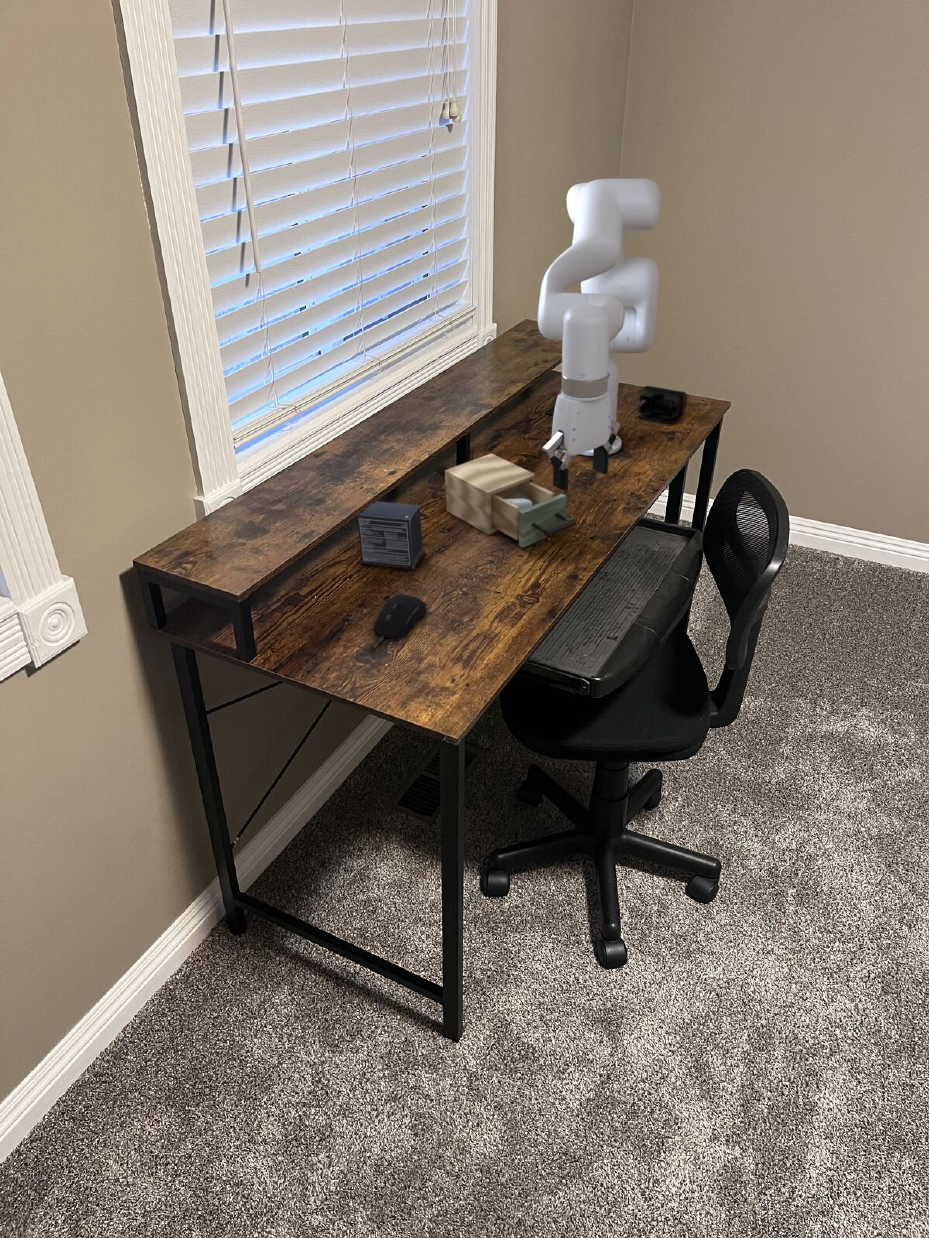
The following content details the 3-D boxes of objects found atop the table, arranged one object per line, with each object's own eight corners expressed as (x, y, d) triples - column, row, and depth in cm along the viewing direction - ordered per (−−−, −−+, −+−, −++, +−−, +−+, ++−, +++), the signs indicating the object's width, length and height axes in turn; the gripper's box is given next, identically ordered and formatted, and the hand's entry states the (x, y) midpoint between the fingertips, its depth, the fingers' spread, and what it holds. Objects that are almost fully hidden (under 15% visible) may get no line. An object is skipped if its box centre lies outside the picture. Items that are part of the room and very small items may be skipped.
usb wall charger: (500, 519, 179) (502, 498, 178) (528, 517, 183) (530, 496, 182) (513, 523, 176) (514, 502, 175) (541, 520, 180) (543, 500, 179)
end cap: (685, 415, 227) (688, 388, 223) (674, 425, 222) (677, 398, 219) (648, 408, 232) (650, 382, 228) (636, 417, 227) (638, 391, 223)
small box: (425, 553, 175) (421, 503, 169) (414, 570, 170) (410, 520, 164) (372, 547, 178) (367, 498, 172) (360, 564, 172) (354, 514, 167)
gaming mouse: (357, 645, 151) (355, 624, 149) (400, 599, 162) (398, 580, 160) (391, 653, 149) (389, 633, 146) (432, 606, 160) (431, 587, 157)
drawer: (583, 538, 176) (584, 504, 172) (540, 557, 171) (540, 522, 166) (522, 507, 187) (522, 474, 183) (481, 524, 182) (480, 490, 178)
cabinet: (535, 515, 186) (535, 474, 181) (488, 535, 180) (487, 492, 175) (492, 493, 195) (491, 453, 190) (446, 511, 189) (444, 470, 184)
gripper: (605, 367, 159) (600, 459, 169) (529, 391, 150) (529, 487, 160) (637, 378, 154) (630, 472, 164) (561, 403, 145) (558, 502, 155)
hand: (580, 479), depth 162 cm, fingers open, 9 cm apart
